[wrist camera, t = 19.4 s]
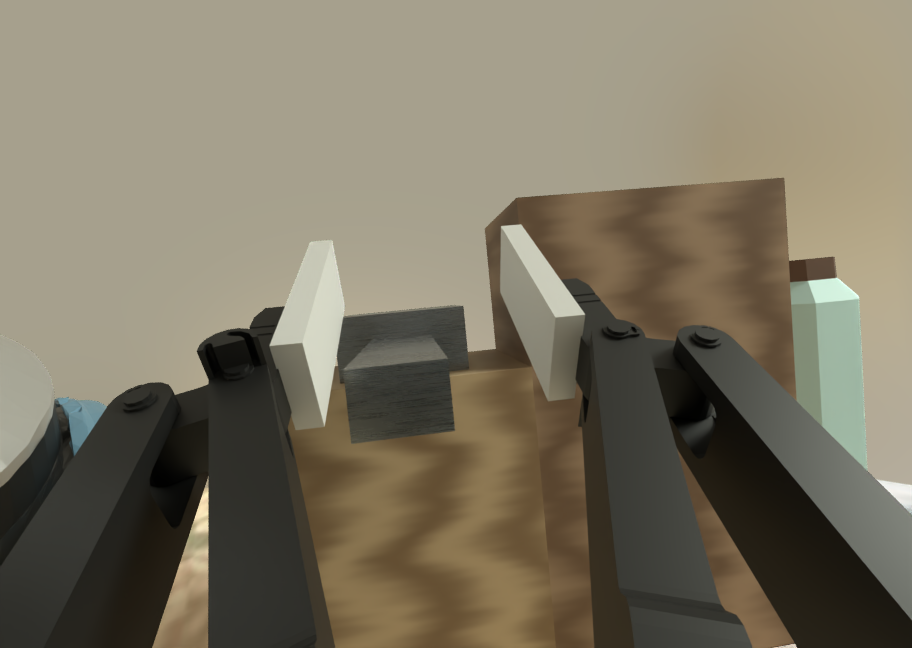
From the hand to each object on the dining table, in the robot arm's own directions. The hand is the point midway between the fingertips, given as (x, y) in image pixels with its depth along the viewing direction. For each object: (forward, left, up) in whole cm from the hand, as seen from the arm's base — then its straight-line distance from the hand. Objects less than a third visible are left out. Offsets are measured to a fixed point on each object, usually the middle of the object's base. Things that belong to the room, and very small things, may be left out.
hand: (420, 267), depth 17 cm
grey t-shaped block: (-1, +9, -6) cm, 10 cm away
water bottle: (+35, +22, -26) cm, 49 cm away
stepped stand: (+7, +15, -26) cm, 31 cm away
